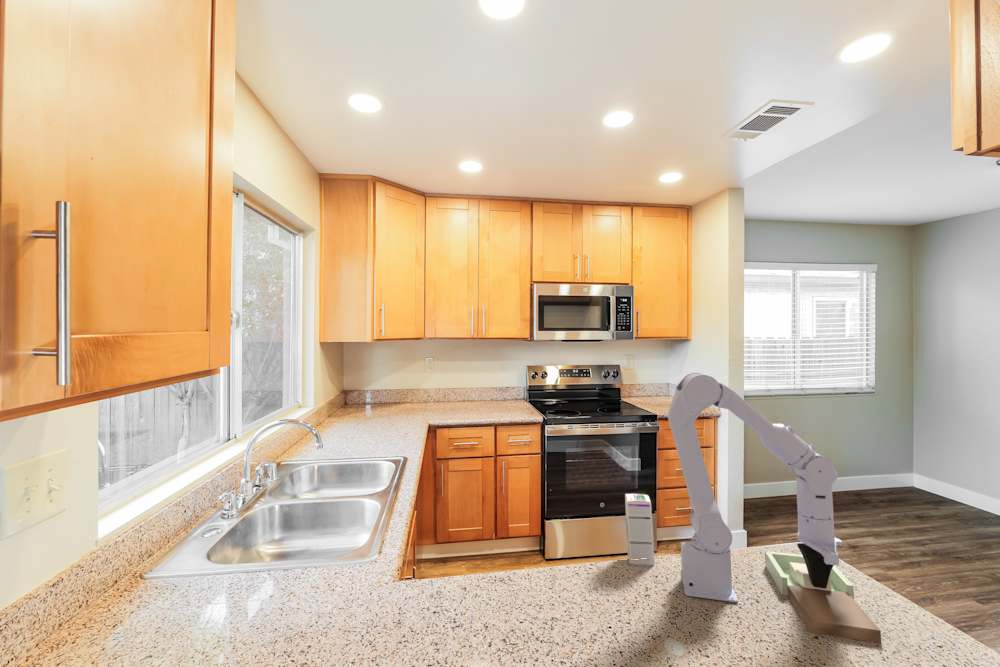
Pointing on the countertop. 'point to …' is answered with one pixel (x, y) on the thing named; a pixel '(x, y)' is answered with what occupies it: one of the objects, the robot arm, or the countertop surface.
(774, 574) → the tray
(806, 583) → the tile
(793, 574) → the tile
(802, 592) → the board
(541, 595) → the countertop surface
